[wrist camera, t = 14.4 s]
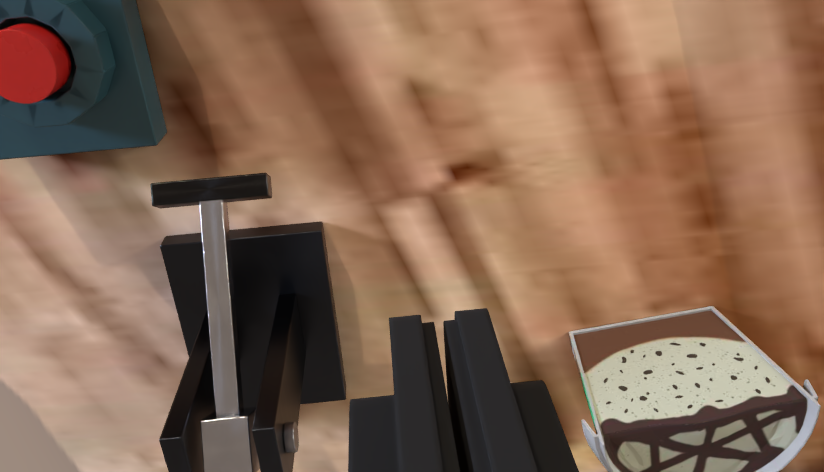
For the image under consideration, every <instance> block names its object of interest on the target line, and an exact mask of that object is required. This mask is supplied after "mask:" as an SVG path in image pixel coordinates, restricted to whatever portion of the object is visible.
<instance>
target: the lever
mask: <svg viewBox="0 0 824 472" xmlns="http://www.w3.org/2000/svg"><path fill="white" fill-rule="evenodd" d="M151 196H152V205H153V206H155V207H158V208H170V207H181V206H191V205H199V206H200V219H201V231H202V244H203V257H204V270H205V283H206V295H207V308H208V321H209V334H210V347H211V359H212V372H213V385H214V398H215V411H214V412H212V413H211V414H209V415H208V416H207V417H205V418H204V419H202V420H201V421H200V428H201V441H202V454H203V467H204V472H257V471H258V470H259V469H260V466H259V461H258V457H257V452H256V448H255V444H254V439H253V435H252V426H253V421H254V416H255V411H256V407H250V408H244V406H243V393H242V381H241V369H240V356H239V344H238V331H237V319H236V307H235V294H234V282H233V270H232V257H231V245H230V232H229V220H228V208H227V202H234V201H245V200H256V199H266V198H272V187H271V177H270V176H269V175H268V174H267V173H258V174H247V175H236V176H225V177H214V178H203V179H193V180H182V181H171V182H160V183H152V184H151Z"/></svg>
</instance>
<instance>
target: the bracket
mask: <svg viewBox="0 0 824 472" xmlns="http://www.w3.org/2000/svg"><path fill="white" fill-rule="evenodd" d="M229 232H230V245H231V257H232V270H233V282H234V294H235V307H236V319H237V331H238V344H239V356H240V369H241V381H242V393H243V406H244V408H250V407H256V411H255V416H254V421H253V426H252V435H253V439H254V444H255V448H256V452H257V457H258V461H259V466H260V470H261V472H292V471H293V462H294V453H295V452H297V451H298V444H299V438H298V428H297V427H298V419H299V410H300V404H308V403H318V402H328V401H338V400H345V399H346V382H345V375H344V368H343V361H342V354H341V347H340V340H339V333H338V326H337V319H336V312H335V305H334V298H333V291H332V284H331V277H330V270H329V263H328V256H327V249H326V242H325V235H324V228H323V223H322V222H312V223H301V224H291V225H280V226H270V227H259V228H248V229H238V230H229ZM160 248H161V252H162V255H163V259H164V263H165V267H166V271H167V275H168V278H169V282H170V286H171V290H172V294H173V297H174V301H175V305H176V309H177V313H178V317H179V320H180V324H181V328H182V332H183V336H184V339H185V343H186V347H187V351H188V355H189V360H188V363H187V365H186V368H185V371H184V374H183V376H182V379H181V382H180V385H179V387H178V390H177V393H176V395H175V398H174V401H173V404H172V406H171V409H170V412H169V415H168V417H167V420H166V423H165V425H164V428H163V431H162V434H161V436H160V439H159V441H160V444H161V448H162V451H163V454H164V458H165V462H166V464H167V467H168V471H169V472H204V467H203V454H202V441H201V428H200V421H201V420H202V419H204V418H205V417H207V416H208V415H209V414H211V413H212V412H214V411H215V398H214V385H213V372H212V359H211V347H210V334H209V321H208V308H207V295H206V283H205V270H204V257H203V244H202V233H195V234H185V235H174V236H166V237H165V238H164V240H163V242H162V244H161V246H160Z"/></svg>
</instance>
